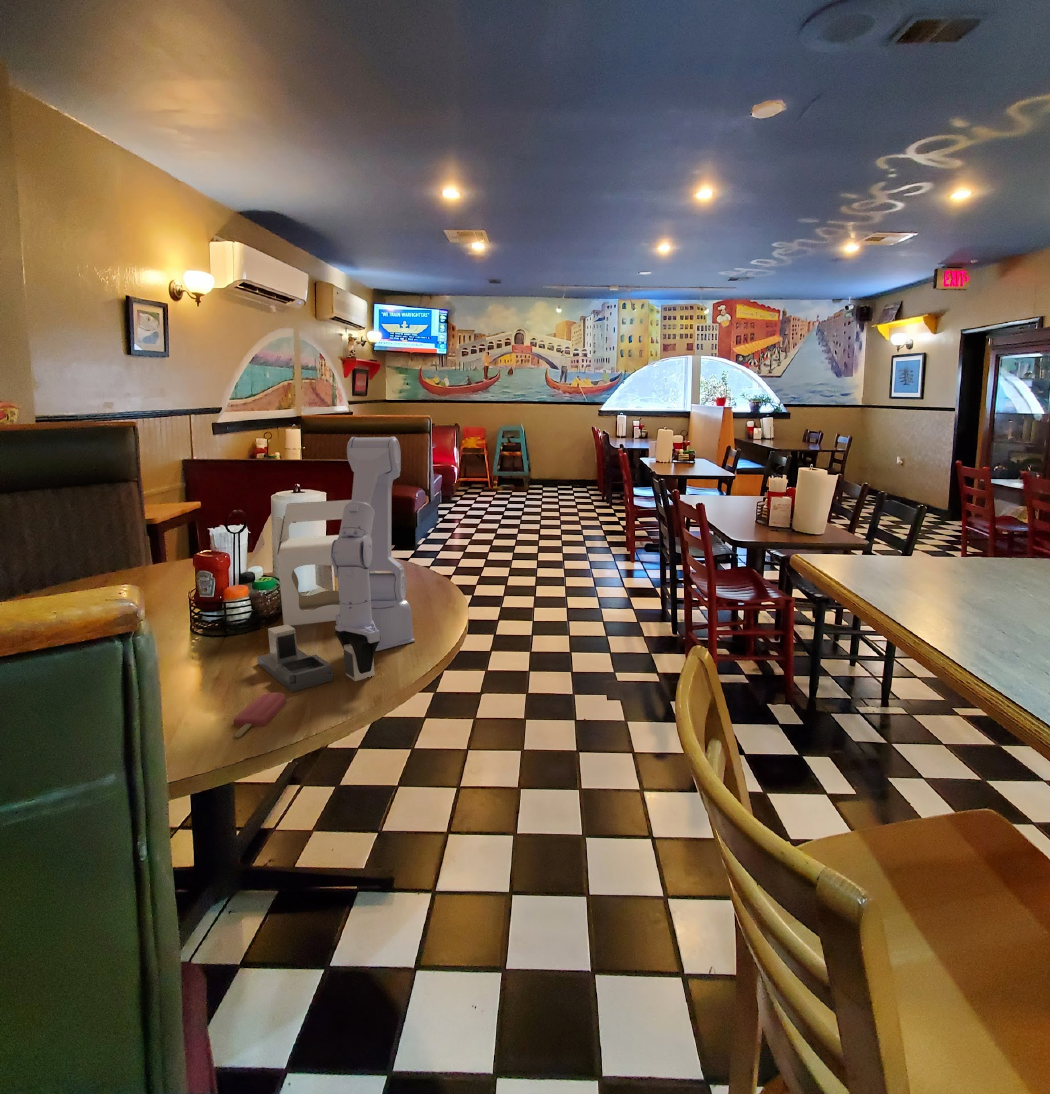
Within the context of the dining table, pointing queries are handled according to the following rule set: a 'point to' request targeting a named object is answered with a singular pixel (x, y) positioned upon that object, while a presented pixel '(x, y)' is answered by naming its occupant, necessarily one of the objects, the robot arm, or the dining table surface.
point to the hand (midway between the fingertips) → (359, 668)
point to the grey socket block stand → (293, 661)
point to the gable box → (306, 562)
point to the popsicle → (259, 712)
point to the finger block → (354, 665)
